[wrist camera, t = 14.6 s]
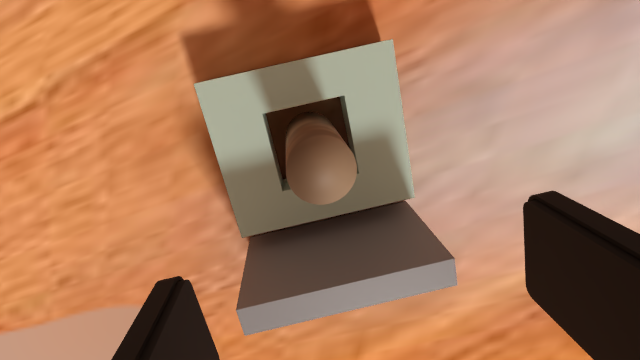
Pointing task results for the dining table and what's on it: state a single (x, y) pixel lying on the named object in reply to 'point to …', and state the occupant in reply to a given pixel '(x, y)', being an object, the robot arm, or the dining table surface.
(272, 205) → the socket block
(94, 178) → the dining table surface
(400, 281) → the low wall
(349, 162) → the walnut peg
